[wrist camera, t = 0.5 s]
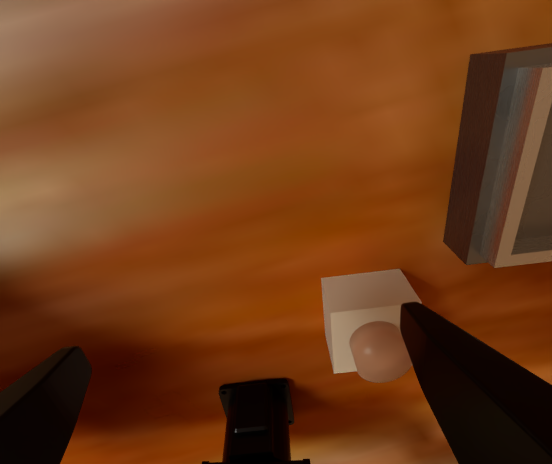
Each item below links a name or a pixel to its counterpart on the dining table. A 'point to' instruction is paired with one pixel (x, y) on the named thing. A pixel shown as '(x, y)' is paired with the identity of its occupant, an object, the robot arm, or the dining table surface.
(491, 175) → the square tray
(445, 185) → the dining table surface
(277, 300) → the dining table surface
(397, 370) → the beige cube with knob
